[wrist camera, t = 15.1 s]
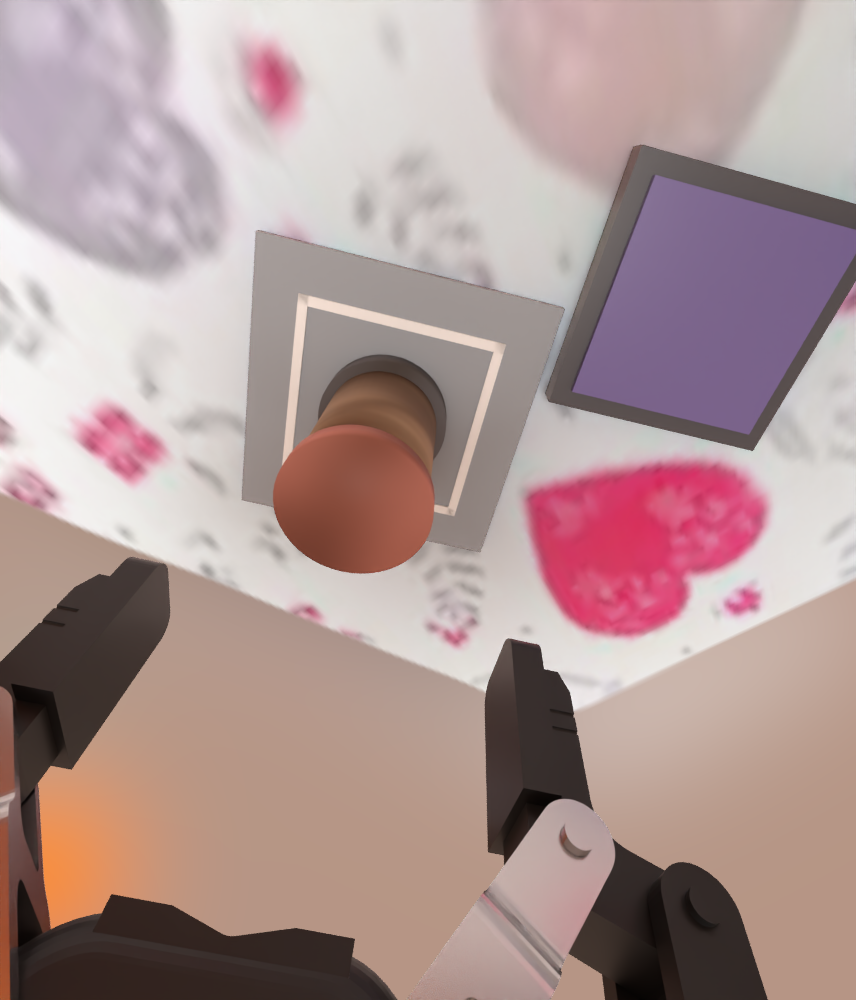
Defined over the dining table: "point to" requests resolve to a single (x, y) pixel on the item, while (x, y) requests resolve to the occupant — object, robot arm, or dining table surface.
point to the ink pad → (704, 298)
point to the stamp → (365, 468)
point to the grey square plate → (398, 332)
